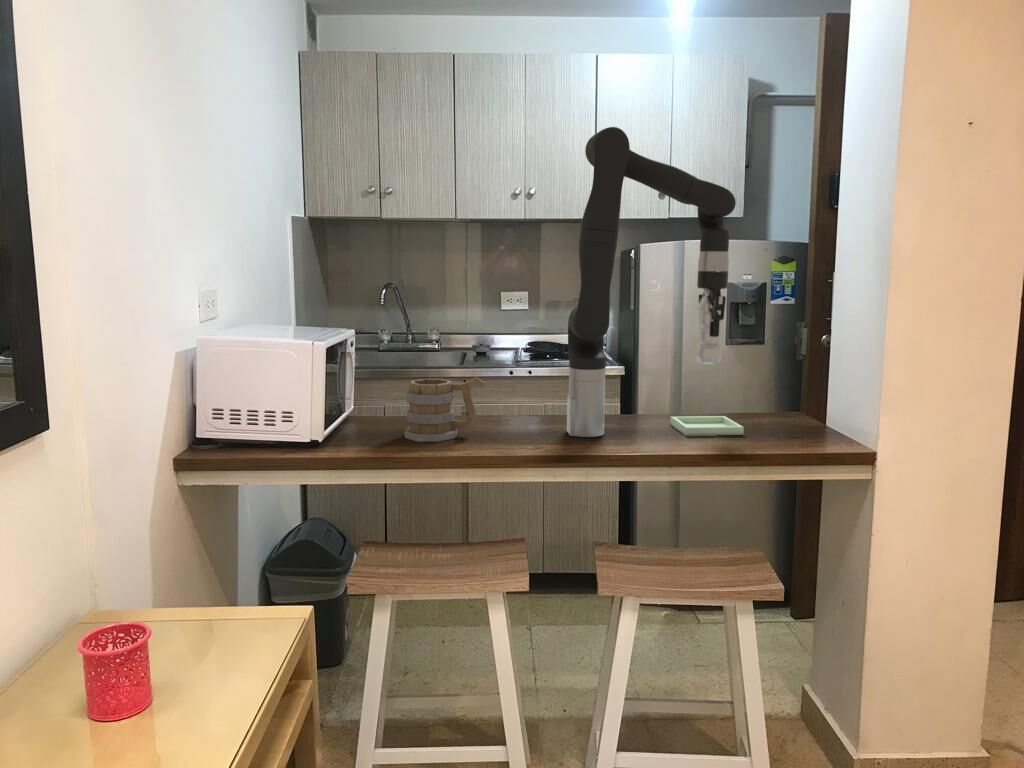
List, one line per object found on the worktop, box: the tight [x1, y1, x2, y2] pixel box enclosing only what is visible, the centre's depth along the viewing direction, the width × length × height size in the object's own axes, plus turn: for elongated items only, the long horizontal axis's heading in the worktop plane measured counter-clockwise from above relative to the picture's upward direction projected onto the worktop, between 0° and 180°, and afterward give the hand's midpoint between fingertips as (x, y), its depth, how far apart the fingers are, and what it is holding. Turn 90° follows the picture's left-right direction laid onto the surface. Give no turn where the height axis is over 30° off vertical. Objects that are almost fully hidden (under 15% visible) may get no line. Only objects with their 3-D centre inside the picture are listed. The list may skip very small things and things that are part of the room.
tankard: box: [404, 376, 486, 443], centre depth 185 cm, size 20×13×15 cm, turn 89°
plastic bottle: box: [695, 289, 723, 366], centre depth 190 cm, size 6×7×20 cm
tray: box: [670, 415, 745, 437], centre depth 194 cm, size 15×14×2 cm
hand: (709, 335), depth 191 cm, fingers closed on plastic bottle, 6 cm apart
